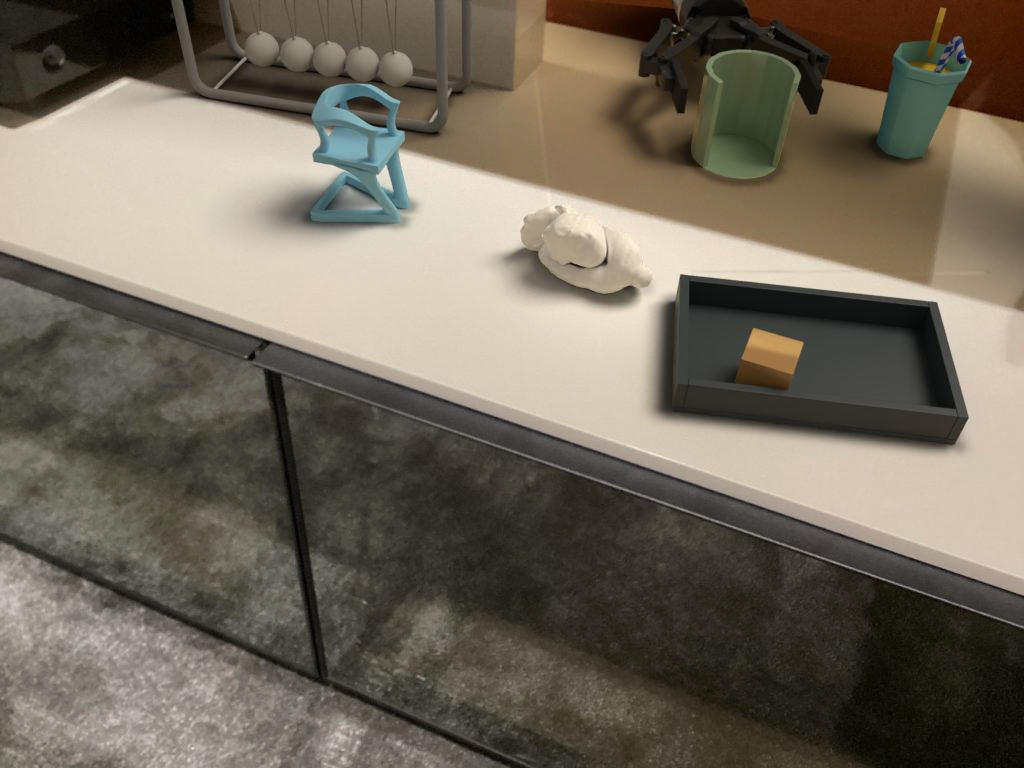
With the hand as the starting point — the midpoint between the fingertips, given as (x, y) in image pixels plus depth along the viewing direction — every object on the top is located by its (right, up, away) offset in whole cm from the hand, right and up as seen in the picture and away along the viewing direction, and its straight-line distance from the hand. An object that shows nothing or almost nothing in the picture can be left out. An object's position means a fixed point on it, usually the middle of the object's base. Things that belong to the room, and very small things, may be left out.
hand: (750, 102), depth 96 cm
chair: (-38, -11, -3) cm, 40 cm away
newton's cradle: (-44, +4, +13) cm, 46 cm away
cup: (+18, -4, +7) cm, 20 cm away
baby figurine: (-17, -18, -8) cm, 26 cm away
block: (-5, -28, -22) cm, 36 cm away
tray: (0, -27, -17) cm, 32 cm away
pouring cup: (0, -4, +6) cm, 7 cm away
